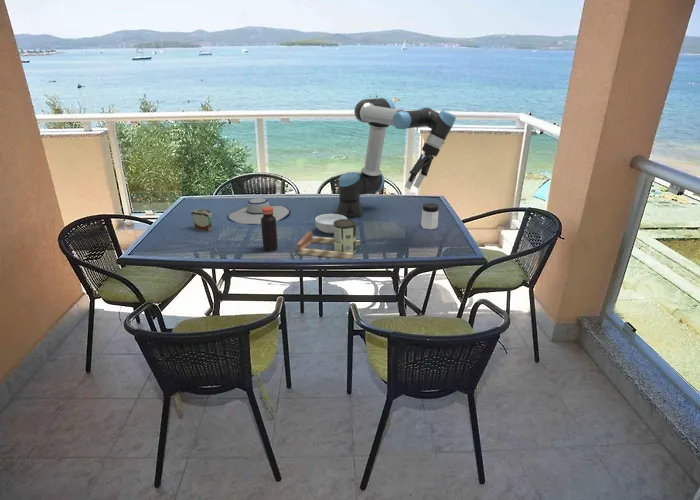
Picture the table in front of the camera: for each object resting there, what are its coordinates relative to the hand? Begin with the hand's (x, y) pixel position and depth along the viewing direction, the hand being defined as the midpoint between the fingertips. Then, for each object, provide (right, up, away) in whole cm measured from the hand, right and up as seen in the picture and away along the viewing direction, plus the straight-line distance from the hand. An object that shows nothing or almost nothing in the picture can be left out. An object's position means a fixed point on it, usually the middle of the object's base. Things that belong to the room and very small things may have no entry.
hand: (411, 187), depth 209 cm
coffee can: (-31, -30, +1) cm, 43 cm away
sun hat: (-81, -9, +51) cm, 97 cm away
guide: (-38, -29, +2) cm, 48 cm away
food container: (-105, -18, +29) cm, 111 cm away
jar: (+14, -17, +31) cm, 38 cm away
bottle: (-66, -29, +4) cm, 72 cm away
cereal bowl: (-38, -20, +25) cm, 50 cm away
